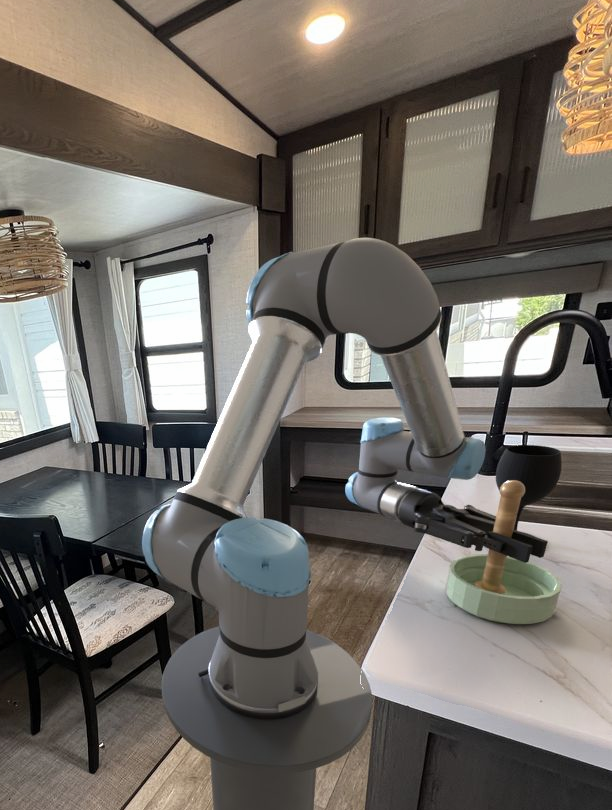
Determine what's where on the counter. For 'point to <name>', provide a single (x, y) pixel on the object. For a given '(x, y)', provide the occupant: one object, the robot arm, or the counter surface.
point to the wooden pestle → (505, 527)
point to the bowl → (524, 596)
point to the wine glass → (530, 472)
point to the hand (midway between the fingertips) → (536, 551)
